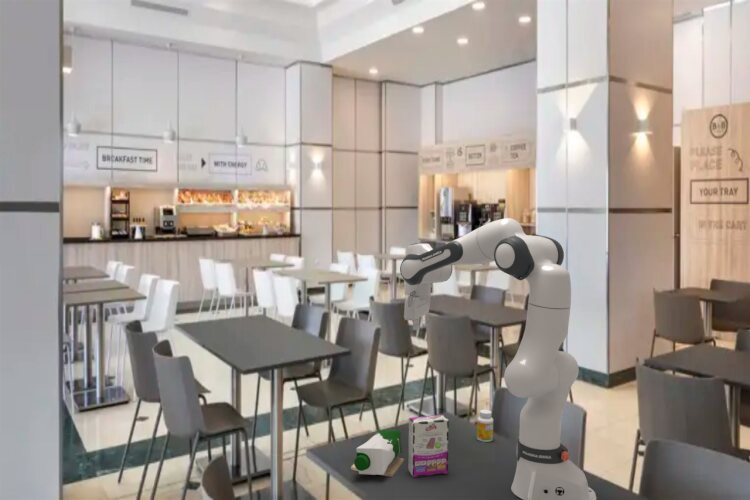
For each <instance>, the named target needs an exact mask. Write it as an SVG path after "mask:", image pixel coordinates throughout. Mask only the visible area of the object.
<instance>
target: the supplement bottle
mask: <svg viewBox="0 0 750 500" xmlns="http://www.w3.org/2000/svg"><path fill="white" fill-rule="evenodd" d="M492 413H493V412H492V411H491V410H490V409H481V410H479V416H478V417H477V423H476V425H477V426H476V439H477V440H478V441H480V442H483V443H487V442H488V443H489V442H492V441H493V440H494V439H493V438H494V434H493V433H494V418H493V417H492V416H493V415H492Z"/></svg>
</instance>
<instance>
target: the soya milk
mask: <svg viewBox="0 0 750 500" xmlns="http://www.w3.org/2000/svg"><path fill="white" fill-rule="evenodd" d="M355 449H356V458H355V459H354V461H353V464H354V465H355V467H356V469H358V470H359V471H358V474H359V475H371V476H372V475H373V476H376V475H379V476H384V473H385V471H386V469H387V467H388V465H389V464H390V463H391V462H392V461H393V460H394V458H395V457H397V458H398V456H400V454H403V446H402V437H401V430H399V429H379V430H378V431H377V432H376V433H375V434H374V435H373V436H372V437H370V438H369V439H368V440H367V441H366V442H365V443H363V444H361V445H359V446H358V447H356V448H355Z"/></svg>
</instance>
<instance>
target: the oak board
mask: <svg viewBox="0 0 750 500" xmlns="http://www.w3.org/2000/svg"><path fill="white" fill-rule="evenodd" d="M404 462H405V458H401V457H398V456H397V457H395V458H394V460H393V461H392V462H391V463H390V464H389V465H388V467H387V469H386V471H385V473H384V475H383V476H385V477H391V478H393V476H395V474H396V473H397V471H398V470H399V469H400V467H401V466H402V465H403V463H404ZM350 470H351V471H354V472H359V470H358V469H356V467H355V465H354V463H353V464H352V465H351V466H350Z"/></svg>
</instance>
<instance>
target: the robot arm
mask: <svg viewBox="0 0 750 500" xmlns="http://www.w3.org/2000/svg"><path fill="white" fill-rule="evenodd" d="M564 257H565V253H564V248H563V247H562V245H561V243H560V242H559V241H558V240H556V239H554V238H552V237H549V236H546V235H539V234H535V233H533V234H532V235H531V234H529V235H527V234H526V233H525V232H524V229H523V227H522V225H521V224H520V223H519V221H518V220H516V219H514V218H511V217H505V218H501V219H497V220H493V221H491V222H488V223H485V224H484V225H482V226H481V225H480V227H477V228H475V229H474V230H472V231H470V232H468V233H466V234H464V235H462V236H460V237H459V238H456V239H454V240H452V241H450V242H447V243H446V244H443V245H440V246H438V247H435V248H433V247H432V246H431V245H430V244H429V243H428V242H415V243H411V244H409V245H408V246H407V249H406V254H405V257H404V258H403V259H402V261H401V263H400V267H399V268H400V269H399V271H400V275H401V278H402V279H403V280H404V295H405V296H406V298H405V300H404V310H403V318H404V321H412V327H413V328H412V330H413V331H419V330H420V329H421V324H422V320H423V317H422V316H425V315H426V314H428V313H429V312H430V308H431V307H430V306H431V299H432V298H431V295H432V293H433V286H432V285H431V284H438V283H444V282H447V281H449V279H450V278H451V276H452V273H453V266H458V265H460V266H461V265H465V266H467V265H473V266H474V265H483V264H488V263H493V262H495V266H496V267H497V269H499V270H500V271H501V272H503V273H505V274H507V275H509V276H512V277H513V278H515V279H516V280H518V281H523V280H526V281H527V283H528V286H529V292H528V293H529V294H528V303H527V311H526V312H527V314H526V321H525V327H524V332H523V336H522V339H521V342H520V344H519V345H518V346H519V347H518V349H517V350H516V351H517V352H516V354H515V355H514V357H513V359H511V362H510V363H508V365H507V366H506V368H505V369H504V375H503V377H504V378H503V380H504V383H505V386H506V388H507V390H508V391H509V393H511V394H512V395H513V396H515V397H517V398H522V399H524V398H525V399H527V400H526V402H525V404H524V406H523V407H522V409H521V411H520V415H519V433H518V439H517V443H516V469H515V474H514V478H513V482H512V484H511V487H510V489H511V492H512V493H513V495H515V496H516V497H518V498H520V499H522V500H597V494H596V492H595V490H593V488H591V487H590V486H589V484H588V479H587V477H586V475H585V472H584V471H583V470H582V469H581V468H580V467H579V466H577V465H576V464H575V463H573V462H572V461H571V460H570V454H569V450H568V446H567V444H565V445H564V444H562V443H561V438H562V437H561V434H562V421H563V414H564V411H565V408H566V407H565V406H566V404H567V400H568V397H569V395H570V394H569V393H570V390H571V388H572V387H573V384H574V383H575V382H576V380H577V378H578V376H579V373H580V369H579V364H578V362H577V360H576V359H575V357H574V356H573V355H572V354H571V353H569V352H566V351H561V350H559V349H560V347H561V346H562V344H563V342H564V341H565V340H566V338H567V336H568V334H569V332H568V331H569V326H570V325H569V323H570V314H571V304H572V303H571V302H572V283H571V276H570V272H569V271H568V269H567V268H565V267H564V266H562V264H563V262H564V259H565V258H564Z"/></svg>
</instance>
